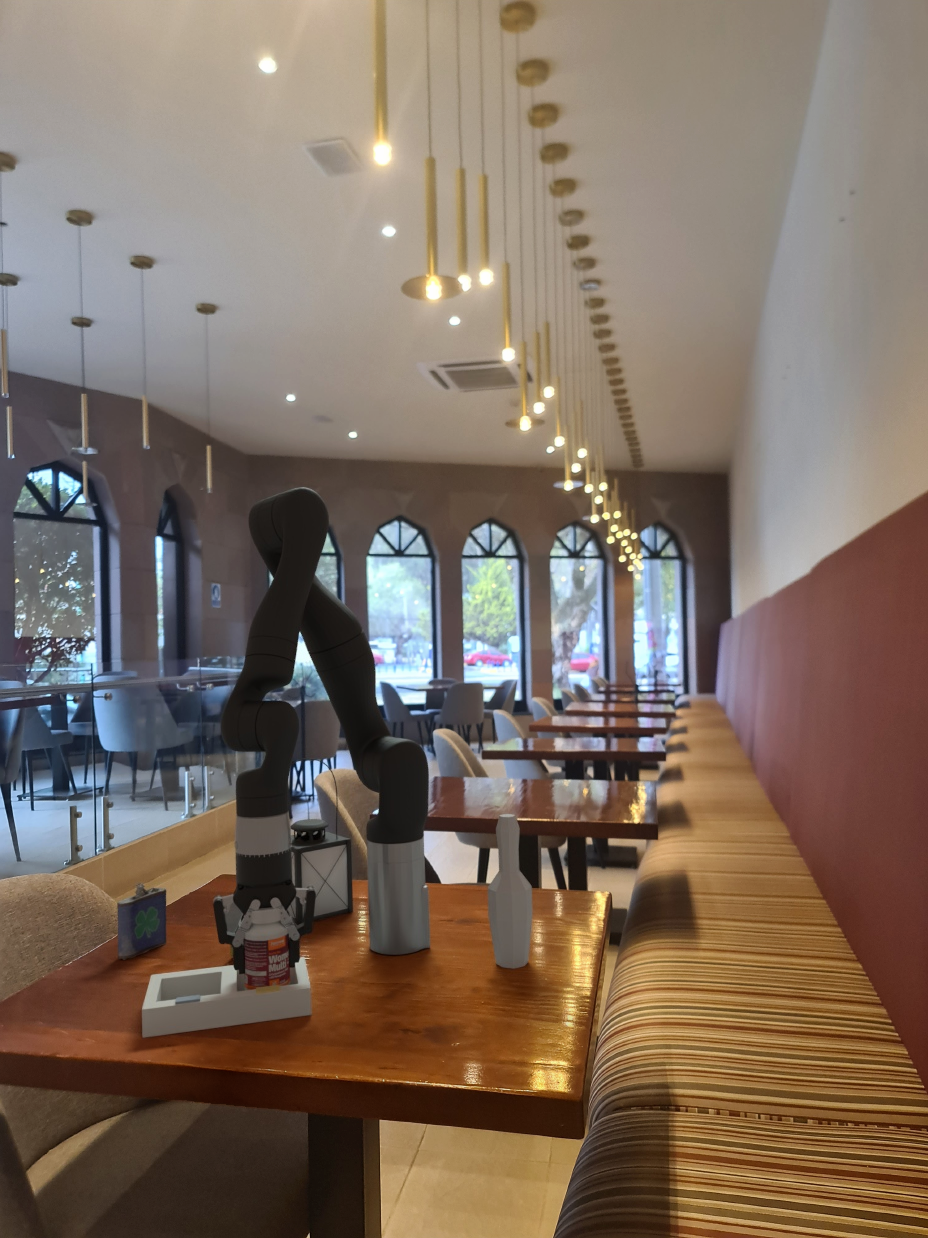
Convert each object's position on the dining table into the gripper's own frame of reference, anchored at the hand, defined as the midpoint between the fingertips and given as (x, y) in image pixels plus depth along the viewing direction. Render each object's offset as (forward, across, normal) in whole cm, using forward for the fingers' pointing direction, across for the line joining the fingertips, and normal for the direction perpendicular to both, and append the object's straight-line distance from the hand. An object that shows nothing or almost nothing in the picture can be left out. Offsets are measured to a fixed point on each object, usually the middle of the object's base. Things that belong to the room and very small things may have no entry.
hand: (266, 968), depth 119 cm
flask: (+5, +19, -28) cm, 34 cm away
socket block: (+5, +5, 0) cm, 7 cm away
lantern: (+5, -9, -39) cm, 40 cm away
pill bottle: (+3, 0, 0) cm, 3 cm away
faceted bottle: (+5, -36, -3) cm, 36 cm away
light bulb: (+5, +4, -19) cm, 20 cm away
